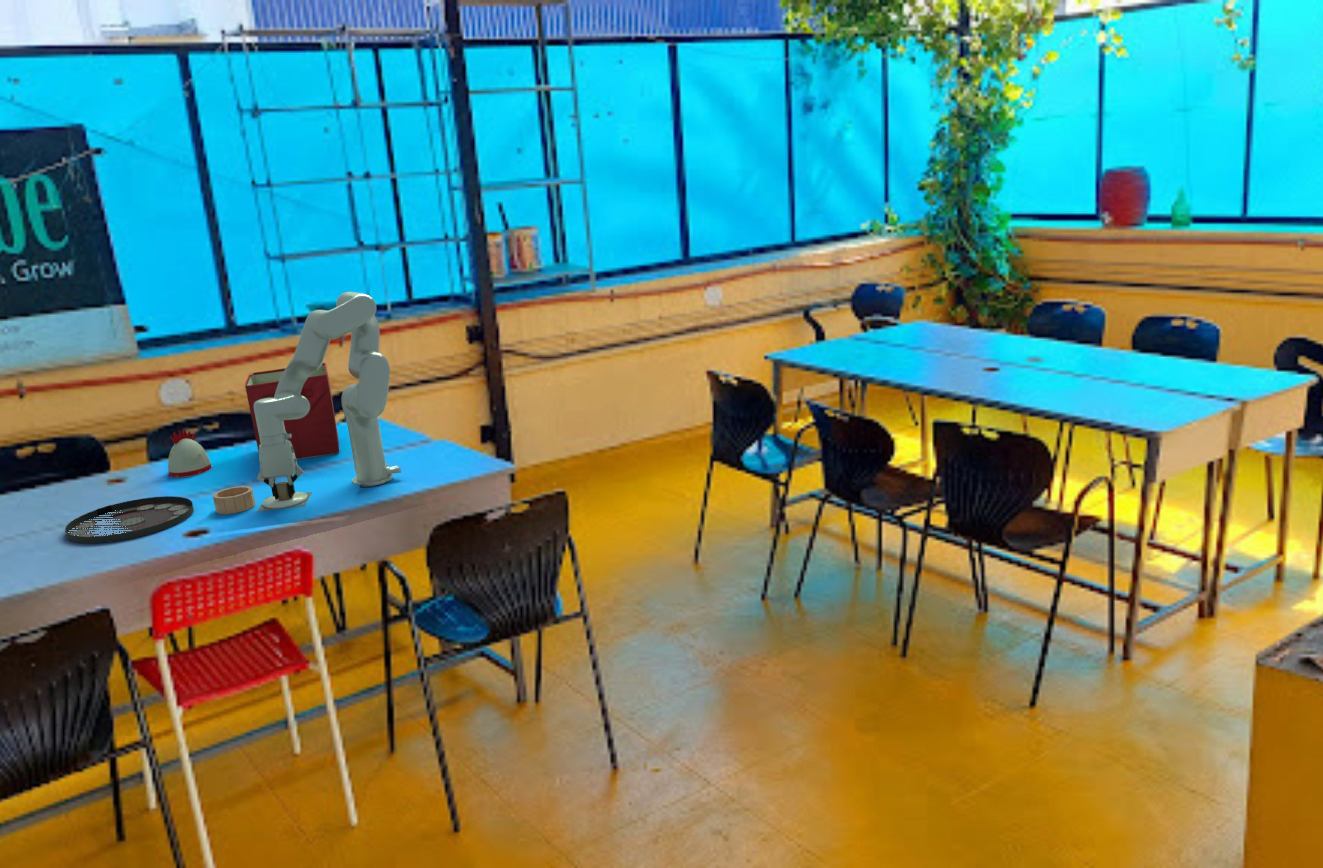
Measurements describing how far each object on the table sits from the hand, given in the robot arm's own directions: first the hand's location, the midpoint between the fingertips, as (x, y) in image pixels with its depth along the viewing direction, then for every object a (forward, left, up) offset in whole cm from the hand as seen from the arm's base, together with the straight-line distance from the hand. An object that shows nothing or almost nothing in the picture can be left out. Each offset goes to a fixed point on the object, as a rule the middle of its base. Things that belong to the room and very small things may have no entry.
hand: (284, 496), depth 334 cm
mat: (0, 0, -2) cm, 2 cm away
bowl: (+15, 0, -2) cm, 15 cm away
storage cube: (+7, -65, -3) cm, 65 cm away
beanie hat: (+43, -56, -3) cm, 70 cm away
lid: (0, 0, -1) cm, 1 cm away
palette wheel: (+46, -2, -3) cm, 46 cm away
